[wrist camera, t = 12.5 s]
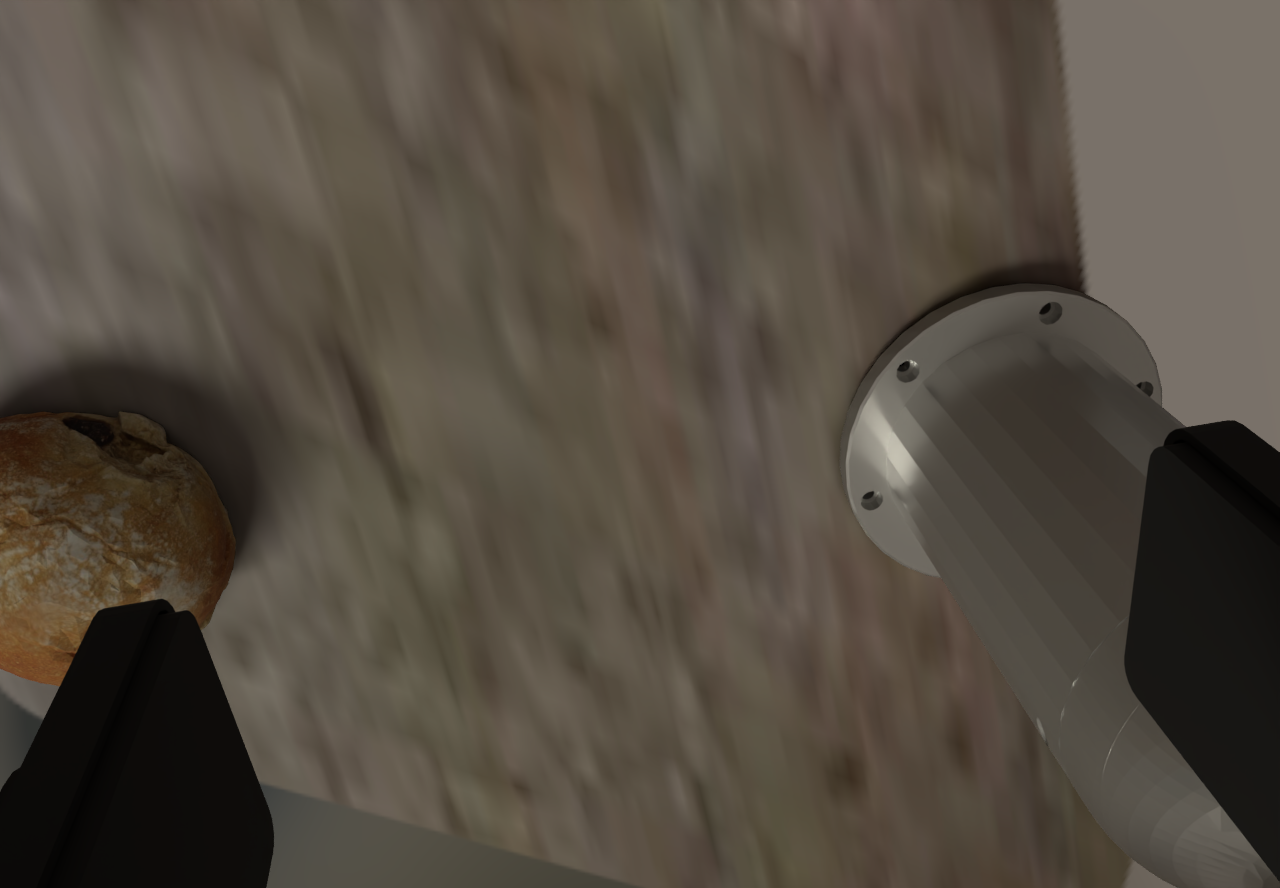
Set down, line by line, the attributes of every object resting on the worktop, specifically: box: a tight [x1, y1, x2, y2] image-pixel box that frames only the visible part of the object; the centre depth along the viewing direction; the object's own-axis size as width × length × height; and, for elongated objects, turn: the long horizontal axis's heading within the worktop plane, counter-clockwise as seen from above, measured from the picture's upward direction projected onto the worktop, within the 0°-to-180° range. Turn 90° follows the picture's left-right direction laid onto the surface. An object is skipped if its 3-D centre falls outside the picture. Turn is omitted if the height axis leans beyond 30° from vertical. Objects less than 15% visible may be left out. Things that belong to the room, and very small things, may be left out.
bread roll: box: [0, 411, 236, 686], centre depth 39 cm, size 10×10×8 cm
